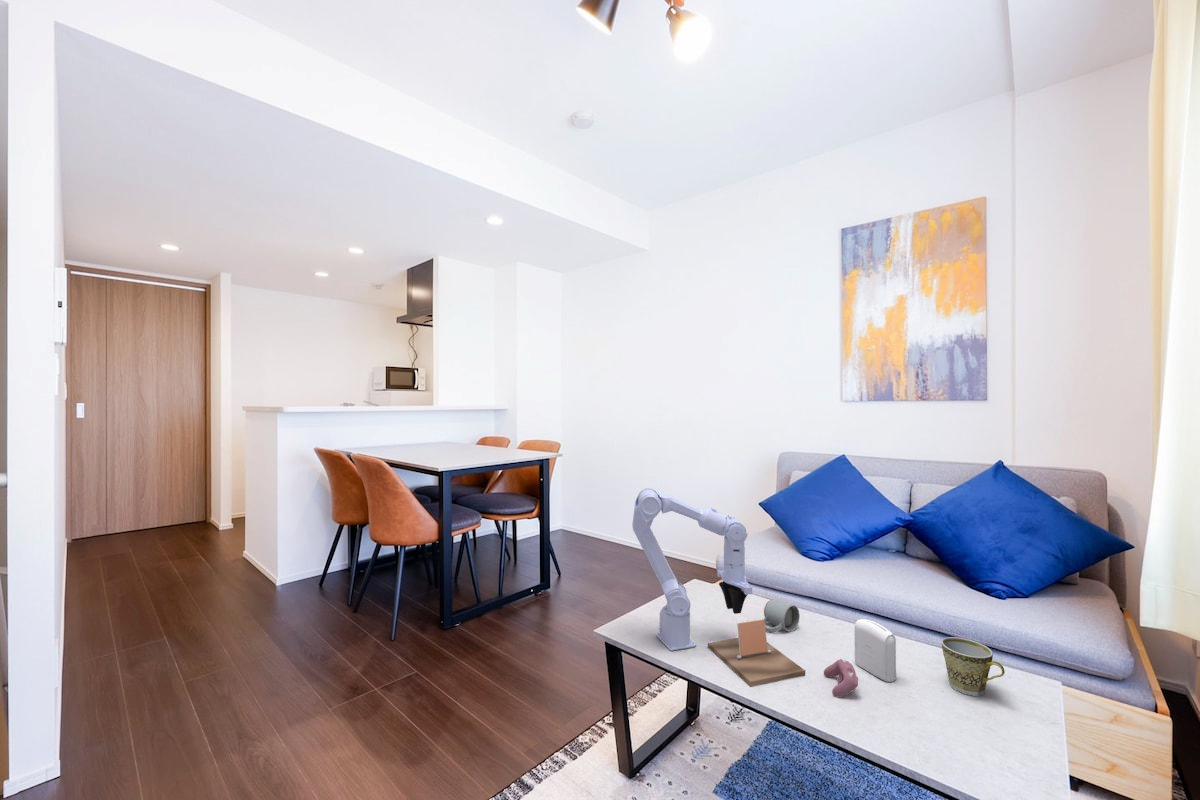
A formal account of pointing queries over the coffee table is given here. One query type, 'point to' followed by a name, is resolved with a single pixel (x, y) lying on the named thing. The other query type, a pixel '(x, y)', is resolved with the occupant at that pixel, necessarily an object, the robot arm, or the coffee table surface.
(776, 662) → the board
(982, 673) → the ceramic cup
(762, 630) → the hinged panel
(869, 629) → the photo printer
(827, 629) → the coffee table surface
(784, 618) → the ceramic mug
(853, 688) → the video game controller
